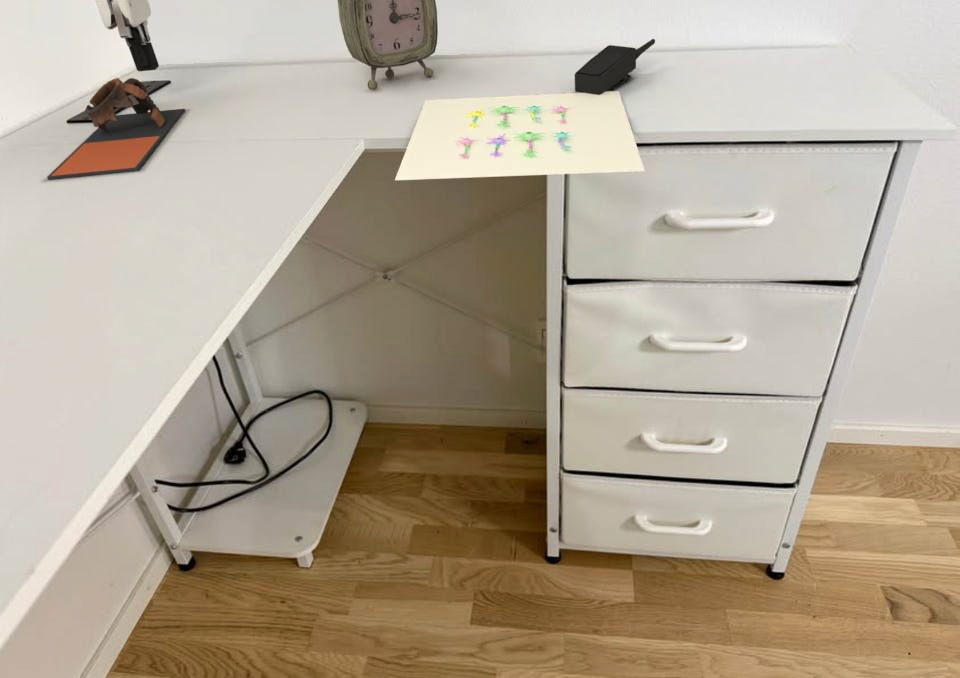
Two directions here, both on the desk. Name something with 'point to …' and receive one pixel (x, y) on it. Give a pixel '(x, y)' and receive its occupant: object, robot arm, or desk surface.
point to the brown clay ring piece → (121, 102)
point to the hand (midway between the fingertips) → (148, 69)
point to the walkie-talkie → (608, 69)
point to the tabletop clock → (389, 33)
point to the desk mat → (118, 146)
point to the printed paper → (521, 137)
